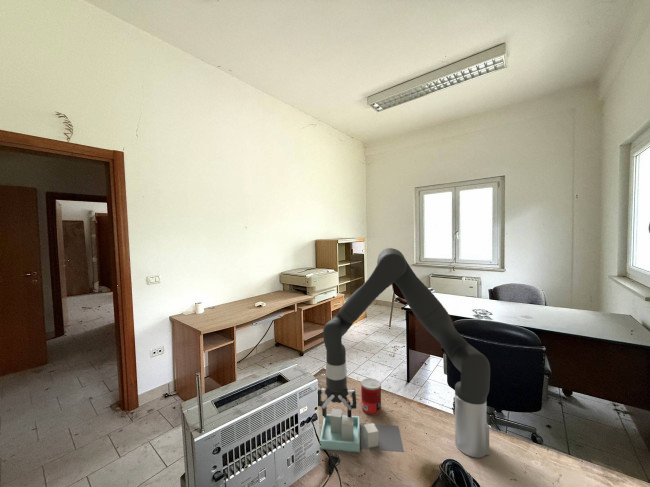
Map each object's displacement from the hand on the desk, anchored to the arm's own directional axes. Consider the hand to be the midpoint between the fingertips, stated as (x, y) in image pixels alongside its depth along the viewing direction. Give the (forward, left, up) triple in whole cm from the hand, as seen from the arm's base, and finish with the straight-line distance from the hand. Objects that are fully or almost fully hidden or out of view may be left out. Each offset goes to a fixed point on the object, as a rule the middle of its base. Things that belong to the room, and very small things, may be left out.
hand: (337, 417), depth 96 cm
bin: (-2, +2, -5) cm, 6 cm away
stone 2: (-4, +4, -4) cm, 7 cm away
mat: (-16, +2, -5) cm, 16 cm away
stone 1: (0, 0, -4) cm, 5 cm away
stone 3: (-12, +4, -5) cm, 14 cm away
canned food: (-13, -14, -5) cm, 19 cm away
